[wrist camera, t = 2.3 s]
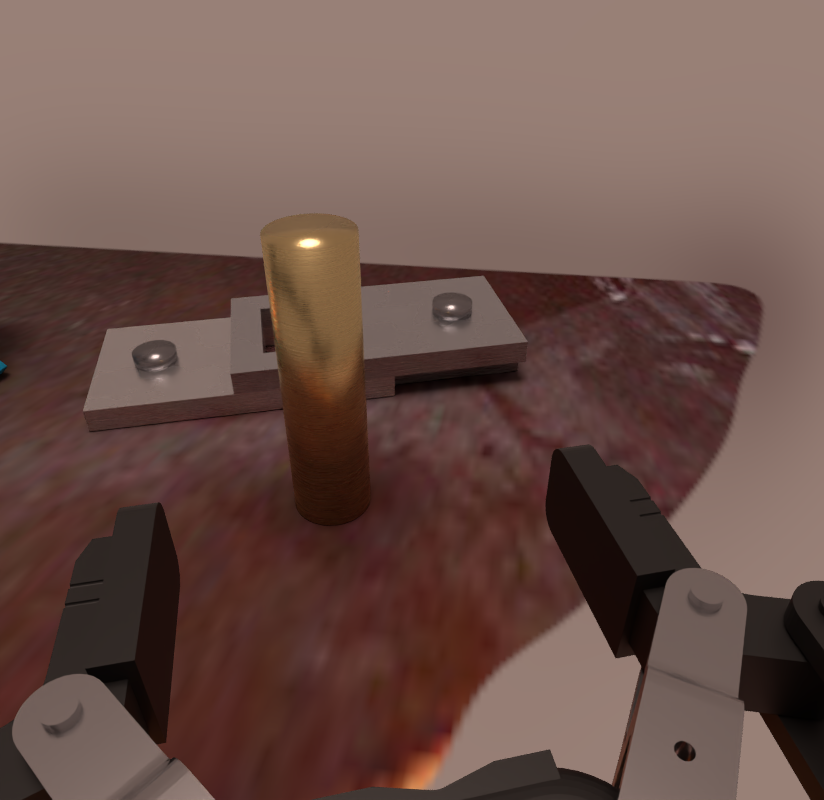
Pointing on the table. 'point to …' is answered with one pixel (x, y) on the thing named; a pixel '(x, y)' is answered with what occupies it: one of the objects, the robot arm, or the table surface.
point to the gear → (2, 367)
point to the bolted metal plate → (258, 371)
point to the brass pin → (320, 361)
